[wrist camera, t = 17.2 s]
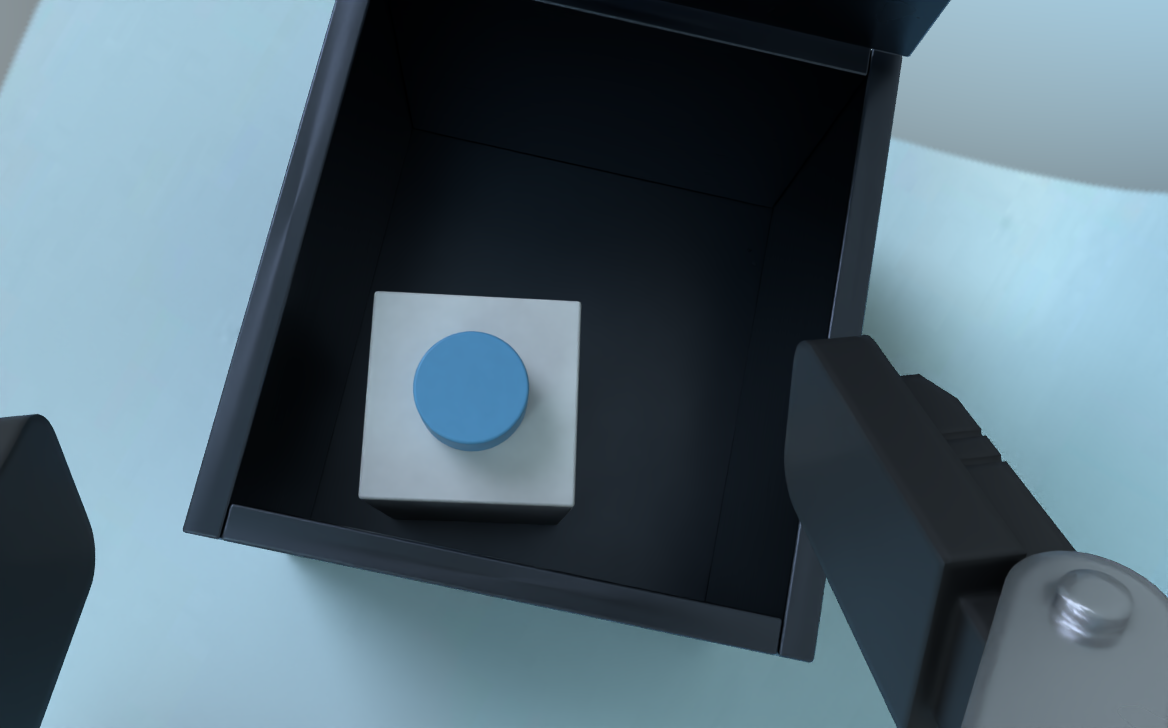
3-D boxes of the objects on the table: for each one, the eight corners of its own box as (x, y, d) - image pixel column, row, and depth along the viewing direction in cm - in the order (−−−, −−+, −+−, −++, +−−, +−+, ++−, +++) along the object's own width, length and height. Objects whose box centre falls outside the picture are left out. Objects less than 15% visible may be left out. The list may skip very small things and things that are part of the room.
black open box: (719, 639, 31) (814, 664, 22) (280, 548, 31) (181, 531, 21) (793, 200, 35) (904, 53, 25) (396, 112, 34) (355, -72, 25)
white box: (390, 519, 31) (349, 494, 22) (402, 355, 32) (366, 273, 23) (558, 525, 31) (579, 503, 23) (564, 363, 32) (585, 285, 24)
